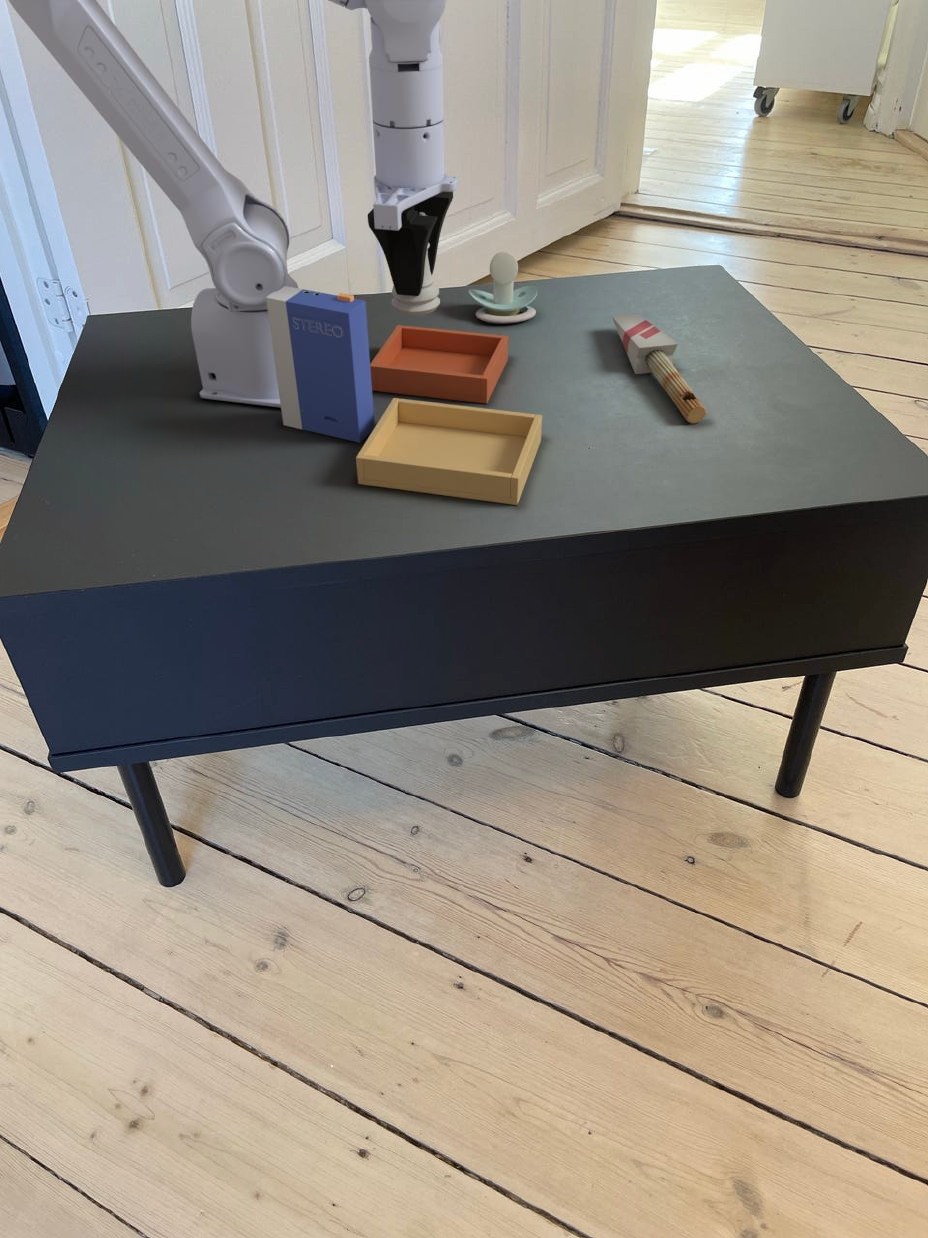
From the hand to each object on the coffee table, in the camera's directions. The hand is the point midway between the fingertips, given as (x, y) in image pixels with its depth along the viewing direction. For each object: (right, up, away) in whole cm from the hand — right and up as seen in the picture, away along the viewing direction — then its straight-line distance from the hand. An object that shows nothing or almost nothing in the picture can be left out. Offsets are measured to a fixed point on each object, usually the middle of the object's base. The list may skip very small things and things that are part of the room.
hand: (414, 285), depth 87 cm
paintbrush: (+23, -6, +6) cm, 25 cm away
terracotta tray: (+2, -6, +6) cm, 9 cm away
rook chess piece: (0, -2, +1) cm, 2 cm away
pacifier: (+9, +3, +17) cm, 19 cm away
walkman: (-8, -13, -1) cm, 15 cm away
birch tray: (+3, -17, -6) cm, 18 cm away
